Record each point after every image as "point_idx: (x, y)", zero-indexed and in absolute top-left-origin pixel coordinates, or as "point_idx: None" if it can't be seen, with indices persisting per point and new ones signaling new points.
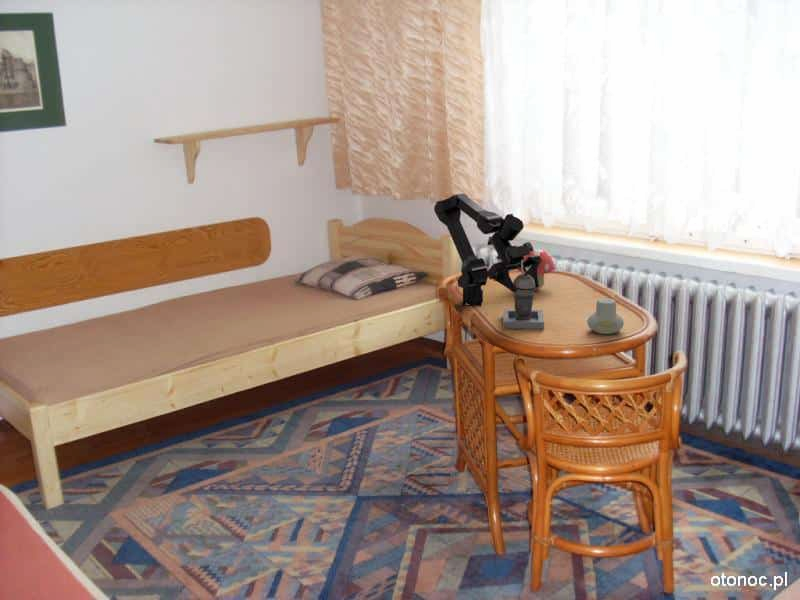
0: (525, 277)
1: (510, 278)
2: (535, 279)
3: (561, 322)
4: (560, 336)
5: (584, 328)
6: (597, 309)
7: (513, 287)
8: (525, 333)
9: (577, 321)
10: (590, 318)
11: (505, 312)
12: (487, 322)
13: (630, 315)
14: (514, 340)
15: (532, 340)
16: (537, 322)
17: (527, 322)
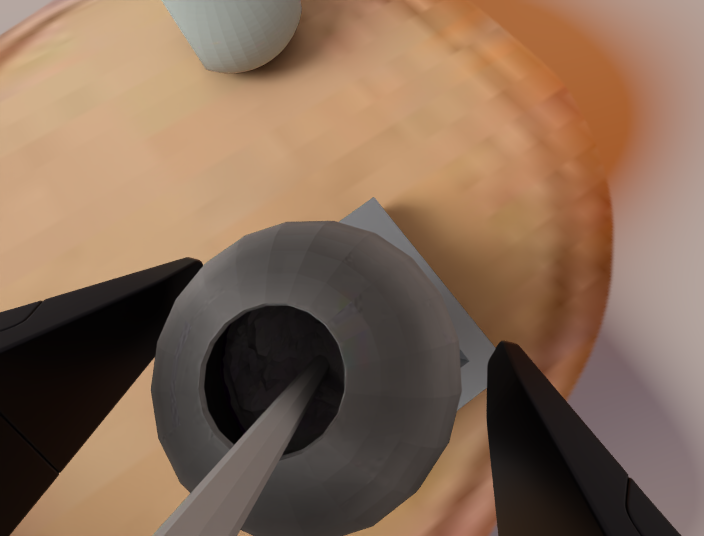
0: (366, 289)
1: (609, 530)
2: (133, 296)
3: (240, 211)
4: (399, 117)
5: (256, 104)
6: None
7: (545, 377)
8: (467, 244)
9: (192, 169)
10: (267, 8)
11: None
12: (463, 504)
13: (25, 67)
14: (579, 227)
15: (520, 170)
16: (392, 222)
17: (424, 261)
